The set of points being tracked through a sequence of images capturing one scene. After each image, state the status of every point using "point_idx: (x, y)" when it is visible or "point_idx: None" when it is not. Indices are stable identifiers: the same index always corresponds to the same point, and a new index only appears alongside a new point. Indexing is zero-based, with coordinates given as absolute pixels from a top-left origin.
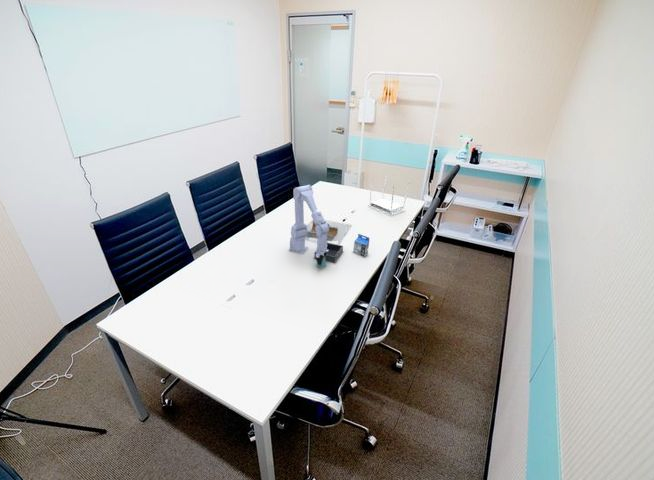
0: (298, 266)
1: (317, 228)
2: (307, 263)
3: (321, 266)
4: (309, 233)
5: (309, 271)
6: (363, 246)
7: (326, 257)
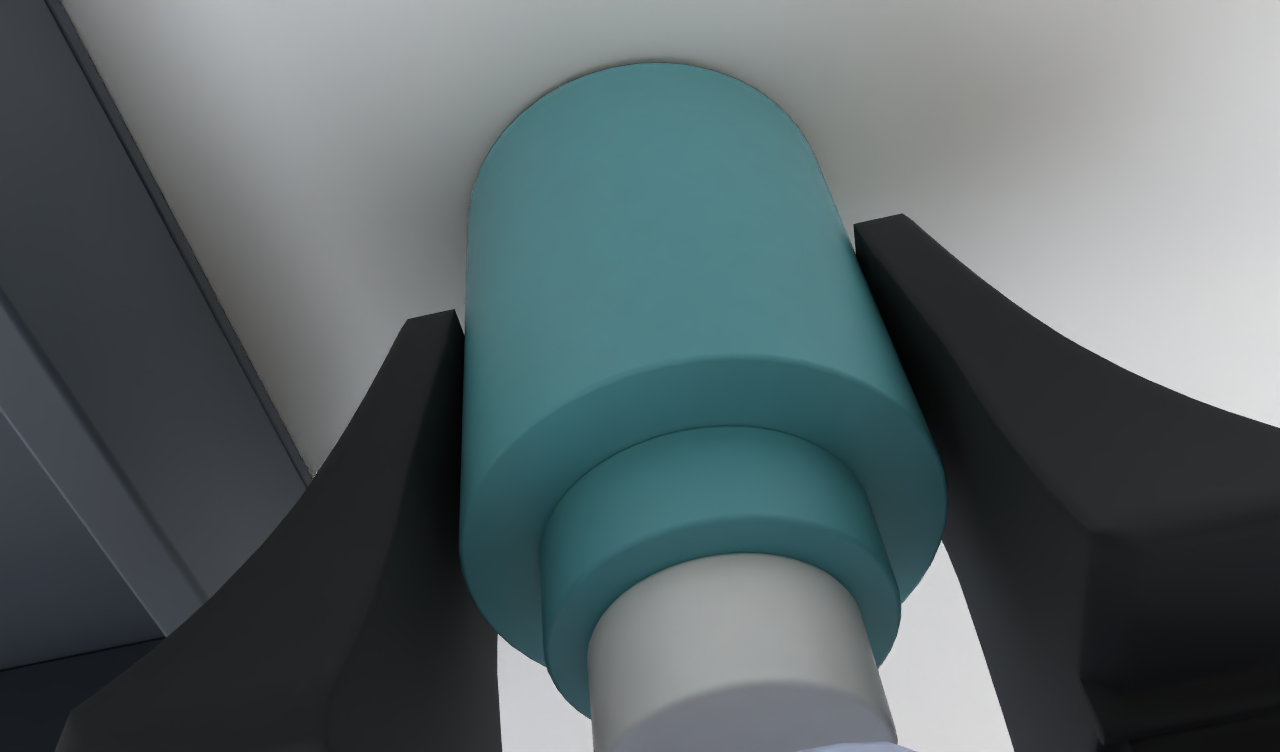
0: None
1: None
2: None
3: (812, 166)
4: None
5: (1217, 321)
6: None
7: (151, 382)
